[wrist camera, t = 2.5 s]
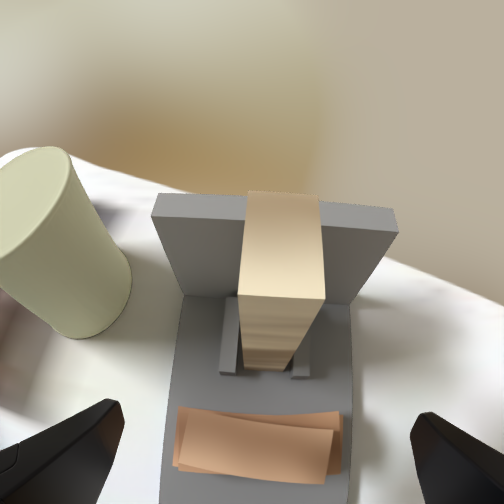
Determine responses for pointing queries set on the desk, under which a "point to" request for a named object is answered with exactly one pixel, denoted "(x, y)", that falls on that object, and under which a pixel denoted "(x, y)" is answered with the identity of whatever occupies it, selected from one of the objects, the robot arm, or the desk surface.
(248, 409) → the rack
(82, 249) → the can
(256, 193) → the birch strip
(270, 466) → the offcut stack
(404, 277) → the desk surface
